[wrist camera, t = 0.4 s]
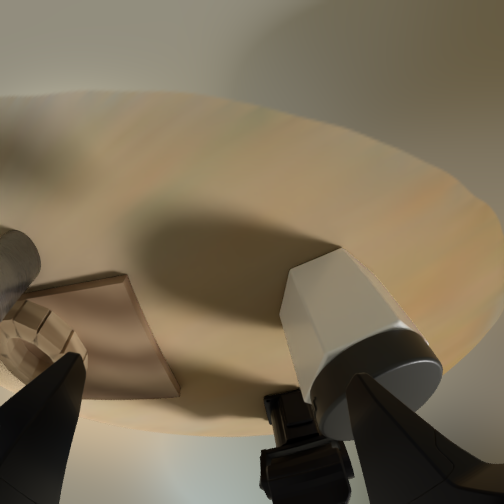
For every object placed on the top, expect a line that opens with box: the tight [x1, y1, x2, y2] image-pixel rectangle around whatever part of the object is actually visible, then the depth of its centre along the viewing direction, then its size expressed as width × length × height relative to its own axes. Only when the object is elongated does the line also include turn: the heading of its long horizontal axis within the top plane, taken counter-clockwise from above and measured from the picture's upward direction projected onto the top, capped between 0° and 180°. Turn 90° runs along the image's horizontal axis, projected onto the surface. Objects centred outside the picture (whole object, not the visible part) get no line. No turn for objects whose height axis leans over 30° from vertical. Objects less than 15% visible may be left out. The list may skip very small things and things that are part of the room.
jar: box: [279, 248, 443, 441], centre depth 19 cm, size 9×8×12 cm
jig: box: [0, 275, 181, 400], centre depth 23 cm, size 15×18×4 cm
